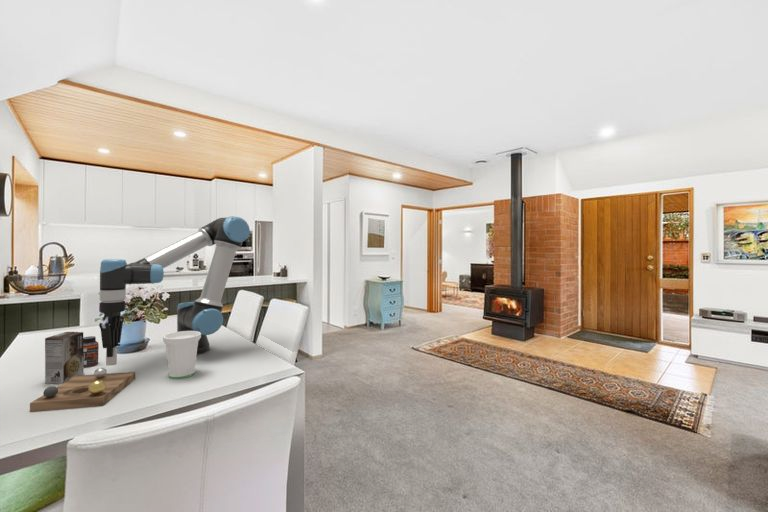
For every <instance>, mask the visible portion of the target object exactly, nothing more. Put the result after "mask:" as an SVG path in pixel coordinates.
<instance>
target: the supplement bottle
mask: <svg viewBox="0 0 768 512" xmlns="http://www.w3.org/2000/svg"><path fill="white" fill-rule="evenodd" d="M96 339H97V338H96V336H93V335H91V336H83V349H84V350H83V351H84V368H89V367H94V366H96V365H98V364H99V348H100V347H99V345H100V344H99V342H98V341H97V340H96Z"/></svg>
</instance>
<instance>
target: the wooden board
mask: <svg viewBox="0 0 768 512" xmlns="http://www.w3.org/2000/svg"><path fill="white" fill-rule="evenodd" d="M96 380H102V381H104V382H105V384H106V388H105V390H104V391H103V392H102V393H100V394H97V395H93V394H91V393H89V391H88V387H89V385H90V384H91V383H92V382H94V381H96ZM135 380H136V371H130V372H129V371H128V372H127V371H126V372H113V373H106V375H105V376H104V377H102V378H96V377H95V376H94V374H82V375H79V376H75V377H73V378H72V379H70V380H68V381H66V382H65V383H60V385H58V386H56V387H57V388H58V393H57V394H56V395H55V396H53V397H45V396H44V394H43V395H41V396H39V397H38V398H36V399H35V400H32V401H31V402H30V403H29V412H42V411H51V410H52V411H53V410H66V409H76V408H77V409H78V408H91V407H99V406H101V407H103V406H104V405H106V404H107V403H108V402H110V400H112V399H113V398H114V397H115V396H117V394H119V393H120V392H121V391H122V390H124V389H125V388H126V387H127V386H128V385H130V384H131V383H132V382H134V381H135Z"/></svg>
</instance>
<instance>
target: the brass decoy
mask: <svg viewBox="0 0 768 512" xmlns="http://www.w3.org/2000/svg"><path fill="white" fill-rule="evenodd" d="M105 388H106V384H105V382H104V381H102V380H96V381H94V382H92V383H91V384H90V385H89V387H88V391H89V393H91V394H93V395H97V394H100V393H102V392H103V391H104V390H105Z"/></svg>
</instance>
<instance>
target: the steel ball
mask: <svg viewBox="0 0 768 512" xmlns="http://www.w3.org/2000/svg"><path fill="white" fill-rule="evenodd" d="M93 373H94V374H93V375H94V376H95V377H96V378H102V377H104V376H105V375H106V374H108V372H107V369H106V368H104V367H99V368H96V370H95V371H94V372H93Z"/></svg>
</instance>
